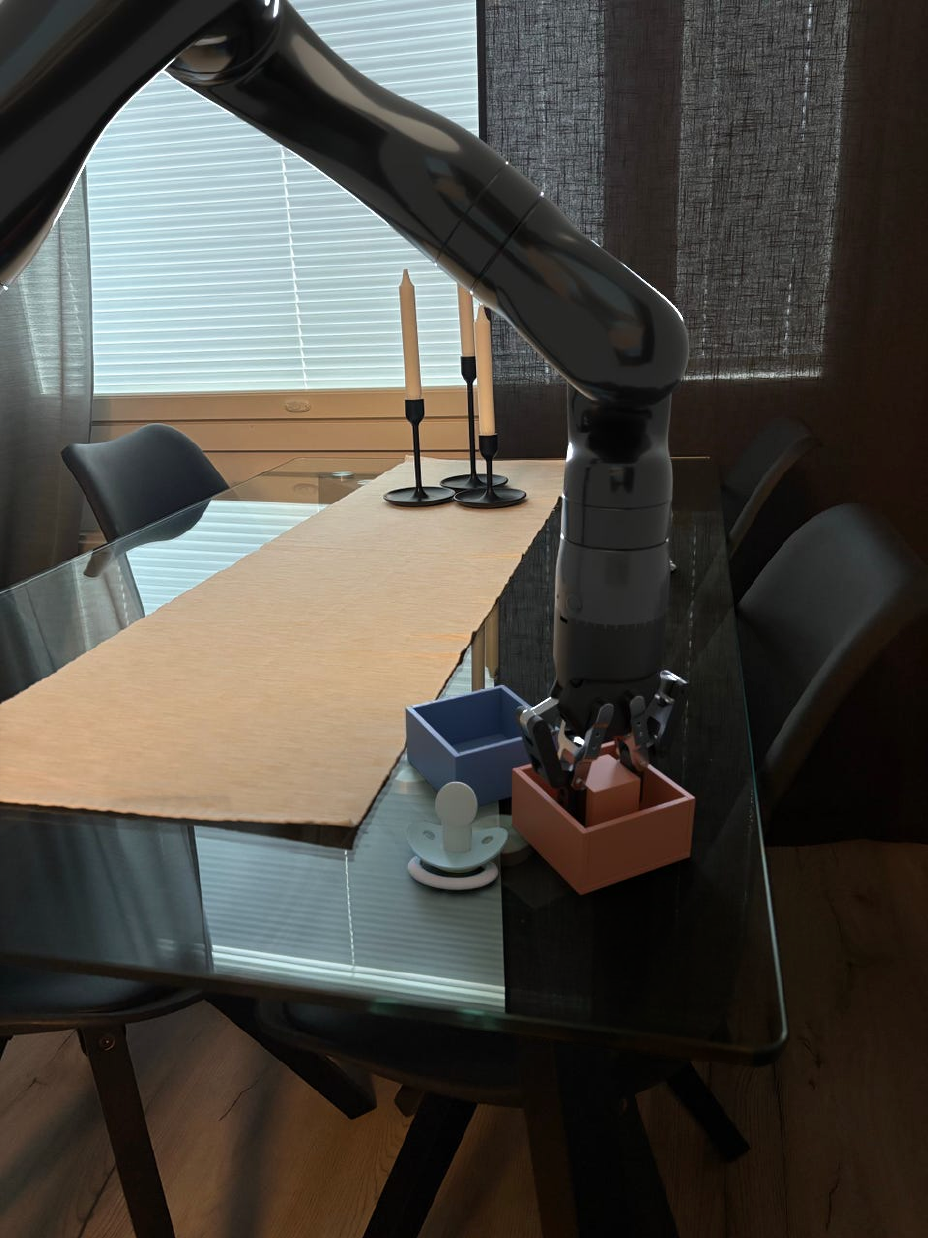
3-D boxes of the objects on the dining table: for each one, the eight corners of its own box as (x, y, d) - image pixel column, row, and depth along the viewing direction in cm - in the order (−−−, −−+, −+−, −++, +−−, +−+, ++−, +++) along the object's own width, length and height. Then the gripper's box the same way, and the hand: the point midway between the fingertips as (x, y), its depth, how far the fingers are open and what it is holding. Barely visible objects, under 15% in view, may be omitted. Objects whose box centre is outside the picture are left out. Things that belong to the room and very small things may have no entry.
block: (591, 841, 68) (594, 792, 66) (561, 813, 71) (563, 766, 70) (637, 826, 70) (640, 778, 68) (605, 799, 73) (608, 754, 71)
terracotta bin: (580, 895, 65) (583, 834, 63) (511, 825, 73) (512, 768, 71) (690, 857, 69) (695, 797, 67) (613, 794, 77) (616, 739, 75)
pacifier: (499, 901, 65) (510, 847, 70) (500, 824, 62) (510, 775, 68) (394, 891, 66) (413, 838, 71) (391, 815, 64) (410, 767, 69)
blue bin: (455, 813, 75) (455, 757, 73) (406, 758, 83) (405, 707, 81) (558, 783, 79) (560, 729, 77) (502, 734, 87) (503, 684, 85)
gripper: (661, 568, 70) (645, 771, 76) (491, 599, 64) (490, 817, 70) (731, 599, 64) (708, 818, 70) (550, 637, 58) (543, 873, 64)
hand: (599, 816), depth 70 cm, fingers closed on block, 4 cm apart
